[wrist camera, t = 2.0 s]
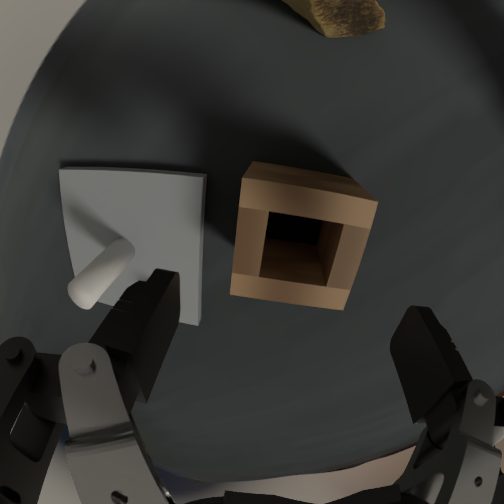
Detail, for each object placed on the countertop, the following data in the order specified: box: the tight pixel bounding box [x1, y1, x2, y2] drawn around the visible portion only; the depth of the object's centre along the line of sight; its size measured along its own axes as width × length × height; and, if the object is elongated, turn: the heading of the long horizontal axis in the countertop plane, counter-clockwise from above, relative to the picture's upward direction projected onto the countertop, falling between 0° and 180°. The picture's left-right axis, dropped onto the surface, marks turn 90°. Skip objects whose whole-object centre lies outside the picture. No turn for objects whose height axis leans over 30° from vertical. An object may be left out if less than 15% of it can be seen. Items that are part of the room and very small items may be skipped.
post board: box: [59, 167, 207, 326], centre depth 17 cm, size 12×12×7 cm
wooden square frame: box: [230, 161, 378, 310], centre depth 16 cm, size 6×6×5 cm
